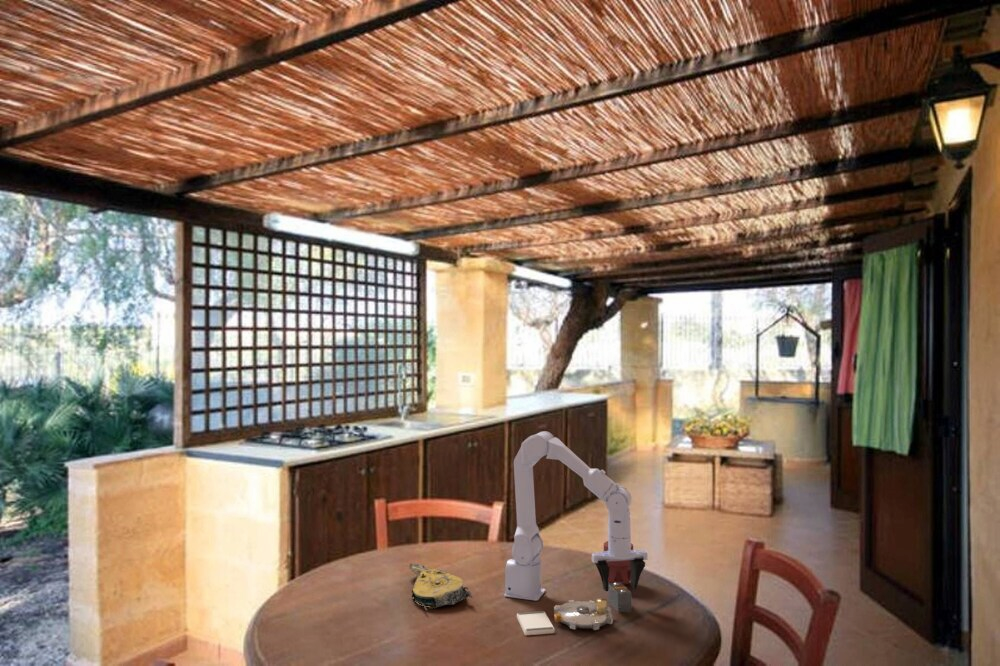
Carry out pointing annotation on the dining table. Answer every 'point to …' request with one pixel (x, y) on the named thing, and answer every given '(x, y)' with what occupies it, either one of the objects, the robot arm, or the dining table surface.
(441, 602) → the tan irregular slab
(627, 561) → the mechanical component
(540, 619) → the guide plate
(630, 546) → the robot arm
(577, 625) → the sprocket wheel
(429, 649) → the dining table surface
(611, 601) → the striped block with rivets
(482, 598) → the dining table surface
